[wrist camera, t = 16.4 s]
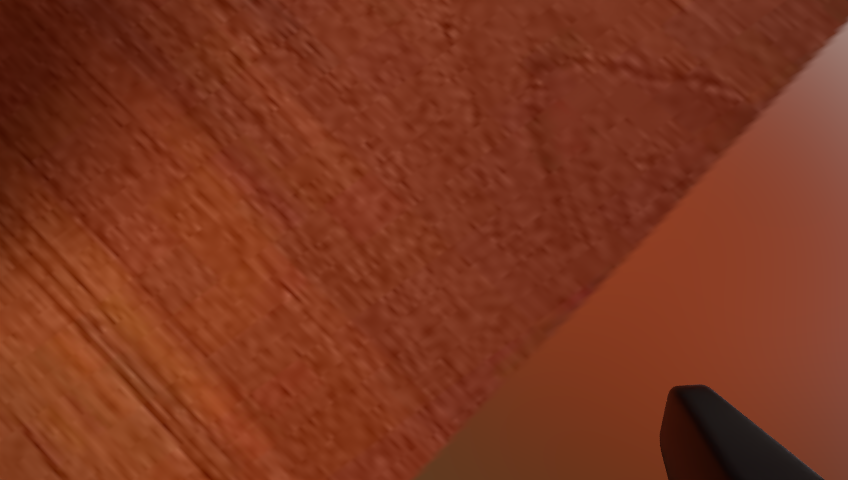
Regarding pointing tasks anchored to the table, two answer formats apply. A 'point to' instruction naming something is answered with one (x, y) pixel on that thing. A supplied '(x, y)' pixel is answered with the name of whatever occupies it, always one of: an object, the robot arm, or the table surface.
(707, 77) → the table surface
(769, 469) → the robot arm
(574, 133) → the table surface
